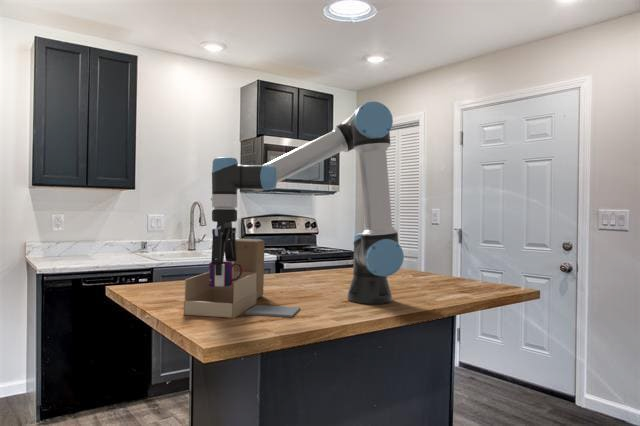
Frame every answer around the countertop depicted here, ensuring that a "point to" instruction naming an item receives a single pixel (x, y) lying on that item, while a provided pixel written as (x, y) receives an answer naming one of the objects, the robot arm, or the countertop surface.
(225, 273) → the mug
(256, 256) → the wooden block
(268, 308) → the mat
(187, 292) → the carton
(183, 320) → the countertop surface
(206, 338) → the countertop surface
